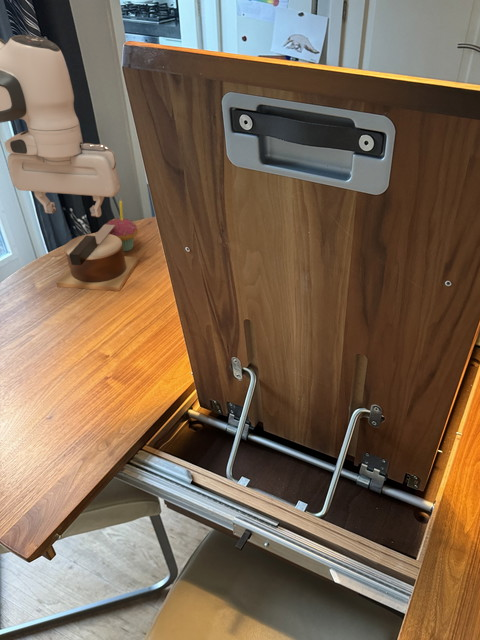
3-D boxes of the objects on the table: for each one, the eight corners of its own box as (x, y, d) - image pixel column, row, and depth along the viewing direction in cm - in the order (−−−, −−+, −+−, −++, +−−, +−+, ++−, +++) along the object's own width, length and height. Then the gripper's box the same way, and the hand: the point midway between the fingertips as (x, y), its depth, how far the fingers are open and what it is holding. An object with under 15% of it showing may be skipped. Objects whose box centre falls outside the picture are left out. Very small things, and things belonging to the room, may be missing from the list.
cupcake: (122, 237, 132) (114, 190, 124) (148, 245, 129) (140, 198, 121) (97, 250, 126) (87, 202, 119) (123, 259, 123) (114, 210, 115)
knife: (82, 265, 106) (79, 255, 104) (70, 264, 106) (67, 254, 104) (115, 226, 121) (113, 216, 119) (104, 225, 121) (102, 215, 119)
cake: (57, 286, 113) (48, 257, 108) (82, 257, 123) (75, 229, 119) (119, 291, 112) (113, 261, 107) (139, 261, 123) (134, 233, 118)
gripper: (118, 140, 97) (129, 211, 105) (12, 133, 98) (32, 204, 106) (106, 150, 92) (119, 224, 100) (-5, 142, 93) (17, 216, 102)
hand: (73, 214), depth 103 cm, fingers open, 8 cm apart
